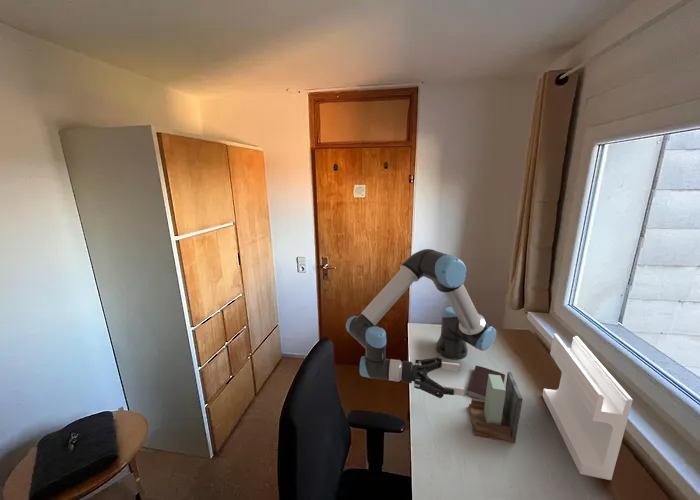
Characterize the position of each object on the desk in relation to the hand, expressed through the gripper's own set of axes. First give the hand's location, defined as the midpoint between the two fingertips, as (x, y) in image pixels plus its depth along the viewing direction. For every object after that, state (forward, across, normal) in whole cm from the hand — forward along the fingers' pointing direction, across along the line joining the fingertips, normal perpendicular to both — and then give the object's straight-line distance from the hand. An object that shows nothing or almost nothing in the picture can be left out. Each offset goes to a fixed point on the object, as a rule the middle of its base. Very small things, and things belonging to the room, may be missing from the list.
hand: (461, 379), depth 112 cm
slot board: (+11, 0, -17) cm, 20 cm away
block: (+38, -2, -17) cm, 42 cm away
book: (+13, -21, -18) cm, 30 cm away
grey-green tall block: (+11, 0, -15) cm, 19 cm away
